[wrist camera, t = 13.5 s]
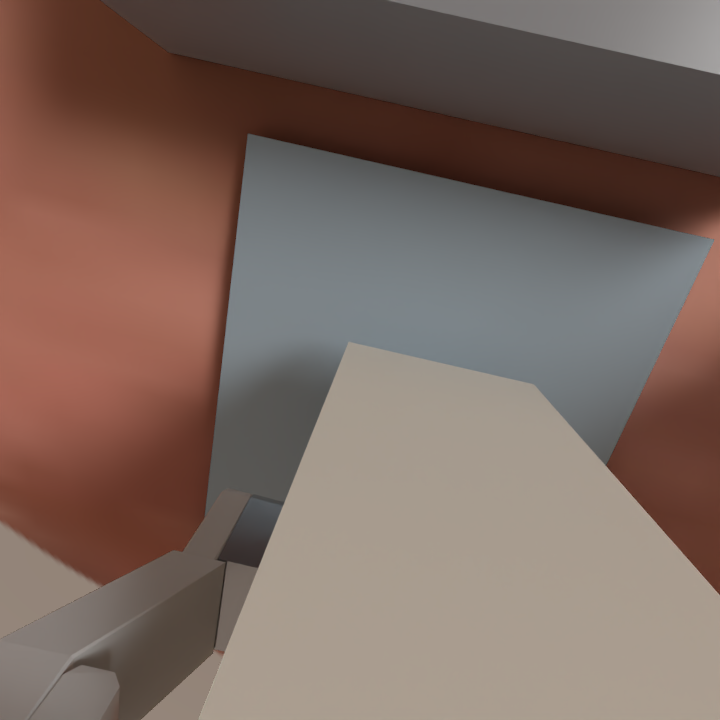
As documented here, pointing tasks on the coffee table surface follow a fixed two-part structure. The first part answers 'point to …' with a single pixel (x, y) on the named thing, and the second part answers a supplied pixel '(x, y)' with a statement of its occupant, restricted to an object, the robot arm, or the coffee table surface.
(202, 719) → the cream block
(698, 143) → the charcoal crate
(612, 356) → the coaster board
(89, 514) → the coffee table surface
